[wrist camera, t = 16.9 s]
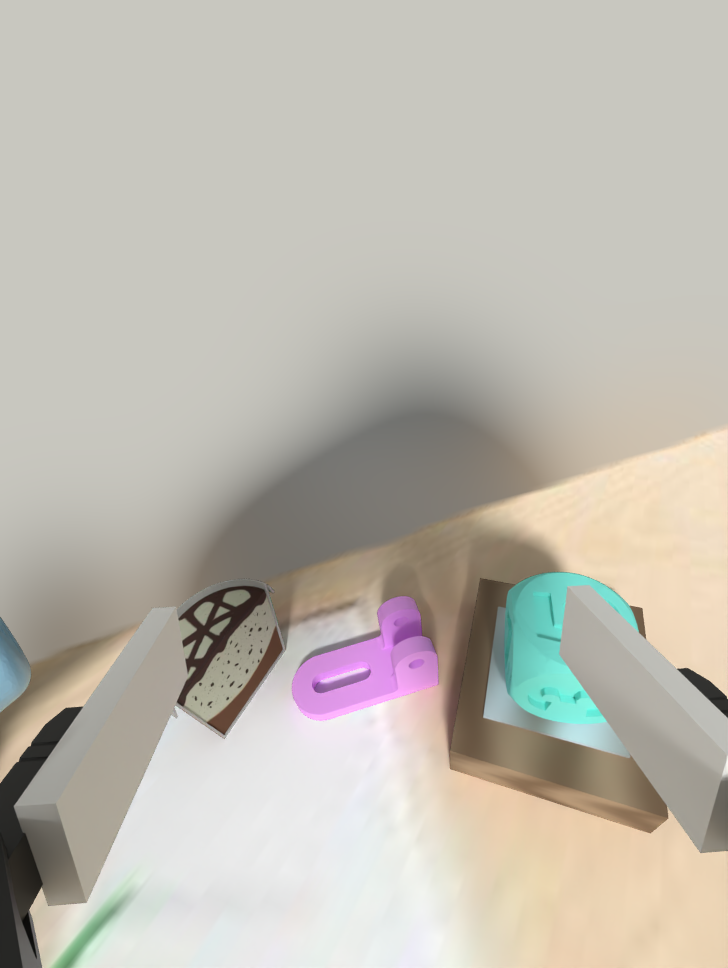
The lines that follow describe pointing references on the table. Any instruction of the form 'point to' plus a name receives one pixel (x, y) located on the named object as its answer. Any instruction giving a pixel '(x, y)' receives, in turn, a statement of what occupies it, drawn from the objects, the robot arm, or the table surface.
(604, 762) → the plinth
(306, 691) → the bracket
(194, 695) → the food container
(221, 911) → the table surface
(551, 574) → the decorative dice
